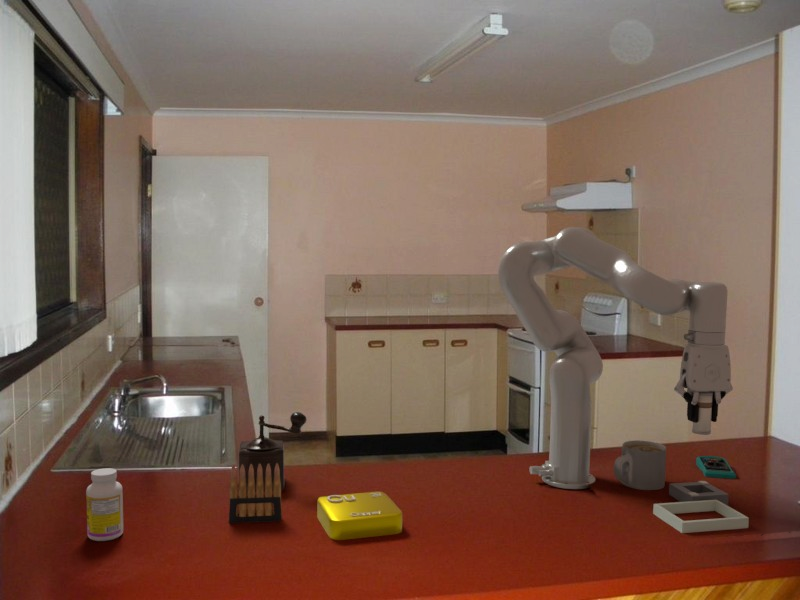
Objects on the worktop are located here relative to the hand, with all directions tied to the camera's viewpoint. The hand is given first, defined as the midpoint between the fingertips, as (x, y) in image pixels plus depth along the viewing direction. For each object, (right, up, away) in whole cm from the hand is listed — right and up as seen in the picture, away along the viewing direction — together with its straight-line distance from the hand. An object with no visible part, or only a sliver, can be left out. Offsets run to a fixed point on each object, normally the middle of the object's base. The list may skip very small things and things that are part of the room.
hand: (701, 420), depth 181 cm
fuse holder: (0, -19, +2) cm, 19 cm away
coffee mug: (-11, -18, +13) cm, 25 cm away
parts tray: (-4, -20, -11) cm, 23 cm away
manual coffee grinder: (-97, -17, +11) cm, 99 cm away
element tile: (-75, -20, -13) cm, 79 cm away
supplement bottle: (-124, -20, -21) cm, 127 cm away
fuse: (0, -3, 0) cm, 3 cm away
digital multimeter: (+13, -18, +25) cm, 33 cm away
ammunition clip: (-97, -19, -12) cm, 99 cm away
